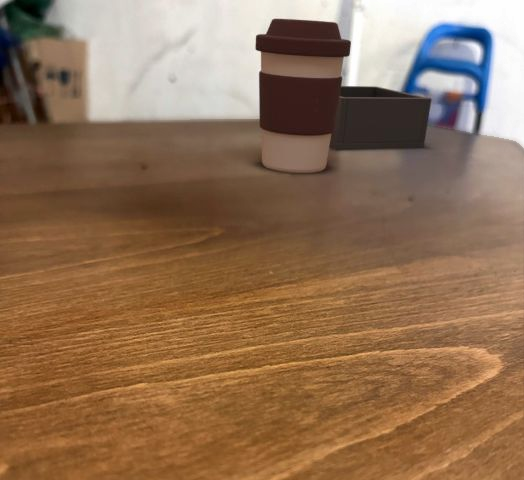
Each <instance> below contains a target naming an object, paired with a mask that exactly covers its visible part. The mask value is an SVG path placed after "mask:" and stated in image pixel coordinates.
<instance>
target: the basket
mask: <svg viewBox="0 0 524 480" xmlns="http://www.w3.org/2000/svg"><path fill="white" fill-rule="evenodd" d="M431 105H432V98H430V97H425V96H421V95H417V94H412V93H408V92H404V91H399V90H394V89H389V88H386V87H382V86H373V85H372V86H368V85H367V86H365V85H341V90H340V96H339V102H338V108H337V114H336V120H335V126H334V131H333V132H332V133H331V139H330V145H329V149H333V150H335V151H362V150H397V149H400V150H402V149H424V148H425V142H426V136H427V130H428V124H429V116H430V112H431Z"/></svg>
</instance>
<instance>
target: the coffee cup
mask: <svg viewBox="0 0 524 480" xmlns="http://www.w3.org/2000/svg"><path fill="white" fill-rule="evenodd" d="M254 47H255V51H257V52H260V71H259V72H258V96H259V97H258V105H259V128H260V129H261V163H262V165H263V167H264V168H266V169H268V170H272V171H276V172H281V173H287V174H315V173H320V172H323V171H324V170H325V169H326V167H327V163H328V158H329V157H328V156H329V152H330V151H329V150H330V147H329V145H330V139H331V133H332V132H333V131H334V126H335V120H336V114H337V108H338V102H339V96H340V90H341V86H342V84H343V76H342V71H343V65H344V64H343V63H344V58H346V57H347V58H348V57H349V56H350V55H351V47H352V41H351V40H349V39H346V38H345V39H344V38H342V35H341V31H340V28H339V25H338V23H337V22H334V21H324V20H309V19H293V18H272V19H271V21H270V24H269V26H268V28H267V31H266V33H260V34H256V35H255V46H254Z"/></svg>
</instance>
